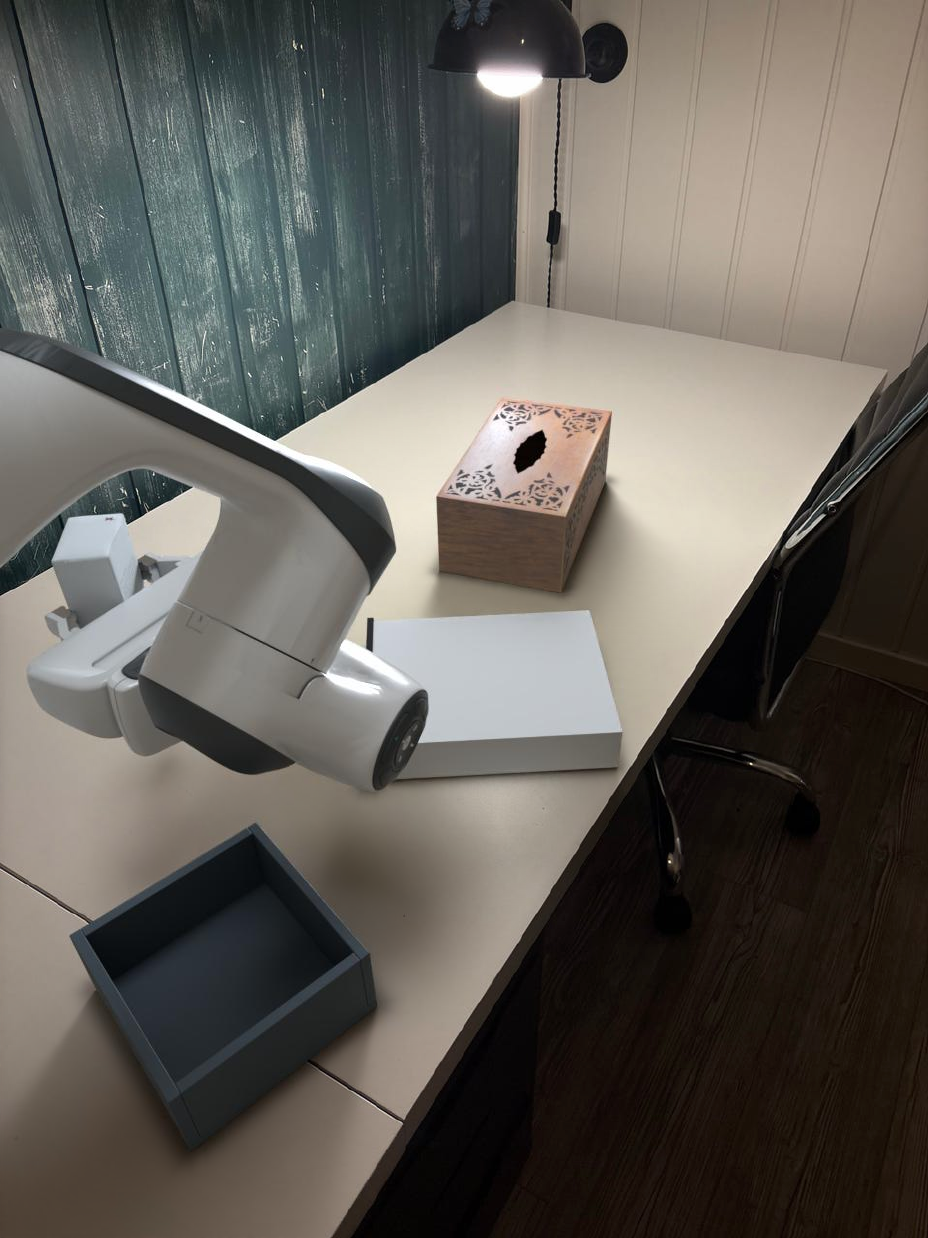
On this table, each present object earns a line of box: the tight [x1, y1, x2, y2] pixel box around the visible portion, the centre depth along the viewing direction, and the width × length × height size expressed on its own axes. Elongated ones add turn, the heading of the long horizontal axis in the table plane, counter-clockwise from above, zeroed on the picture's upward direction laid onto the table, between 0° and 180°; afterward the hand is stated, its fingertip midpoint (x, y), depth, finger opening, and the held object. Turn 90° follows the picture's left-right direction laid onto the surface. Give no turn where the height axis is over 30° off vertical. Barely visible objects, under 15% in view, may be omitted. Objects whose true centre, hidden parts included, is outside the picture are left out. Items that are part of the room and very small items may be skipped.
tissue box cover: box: [435, 396, 613, 593], centre depth 111 cm, size 26×14×10 cm, turn 162°
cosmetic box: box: [50, 513, 147, 629], centre depth 71 cm, size 6×4×12 cm
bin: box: [68, 822, 378, 1152], centre depth 64 cm, size 15×15×7 cm
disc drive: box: [365, 609, 623, 780], centre depth 87 cm, size 18×22×5 cm
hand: (99, 590), depth 71 cm, fingers closed on cosmetic box, 7 cm apart
